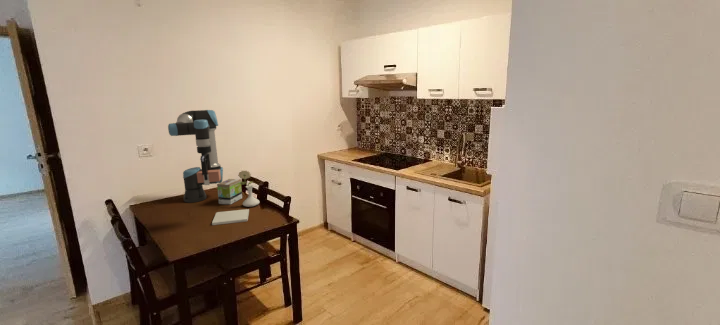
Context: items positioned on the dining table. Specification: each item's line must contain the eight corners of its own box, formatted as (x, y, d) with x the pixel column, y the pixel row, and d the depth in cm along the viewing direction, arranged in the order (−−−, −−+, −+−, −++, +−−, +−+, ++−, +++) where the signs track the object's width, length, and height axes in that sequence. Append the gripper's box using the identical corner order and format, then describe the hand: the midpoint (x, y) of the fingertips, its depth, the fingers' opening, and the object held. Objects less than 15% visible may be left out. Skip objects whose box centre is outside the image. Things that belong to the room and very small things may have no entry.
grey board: (216, 214, 214) (216, 212, 214) (249, 211, 219) (249, 209, 219) (212, 225, 197) (211, 222, 197) (247, 221, 202) (247, 219, 202)
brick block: (218, 171, 199) (196, 173, 196) (219, 181, 200) (197, 183, 197) (219, 169, 204) (198, 170, 202) (221, 178, 206) (200, 180, 203)
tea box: (231, 204, 232) (229, 184, 229) (218, 204, 234) (216, 184, 231) (242, 198, 246) (241, 178, 243) (230, 197, 248) (228, 178, 245)
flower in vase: (262, 202, 235) (259, 168, 230) (255, 208, 224) (252, 172, 219) (244, 202, 237) (241, 168, 231) (237, 207, 225) (233, 172, 220)
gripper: (207, 148, 188) (211, 187, 193) (213, 143, 206) (217, 179, 211) (192, 148, 187) (198, 188, 192) (200, 143, 205) (204, 180, 210)
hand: (208, 183), depth 201 cm, fingers closed on brick block, 6 cm apart
